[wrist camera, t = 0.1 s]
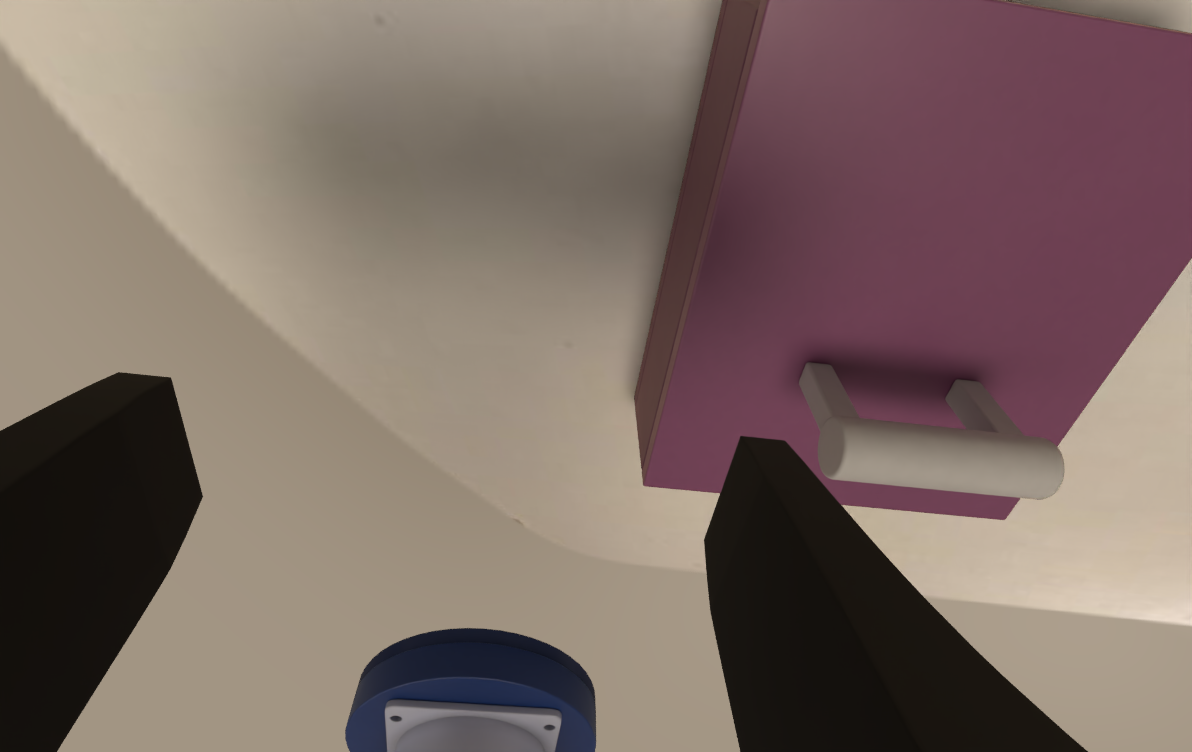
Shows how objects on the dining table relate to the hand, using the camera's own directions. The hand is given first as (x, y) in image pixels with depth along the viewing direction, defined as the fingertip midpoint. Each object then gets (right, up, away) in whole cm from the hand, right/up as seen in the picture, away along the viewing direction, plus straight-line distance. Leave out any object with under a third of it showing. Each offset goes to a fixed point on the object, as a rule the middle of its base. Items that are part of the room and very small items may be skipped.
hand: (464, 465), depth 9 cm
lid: (+10, +3, +8) cm, 13 cm away
